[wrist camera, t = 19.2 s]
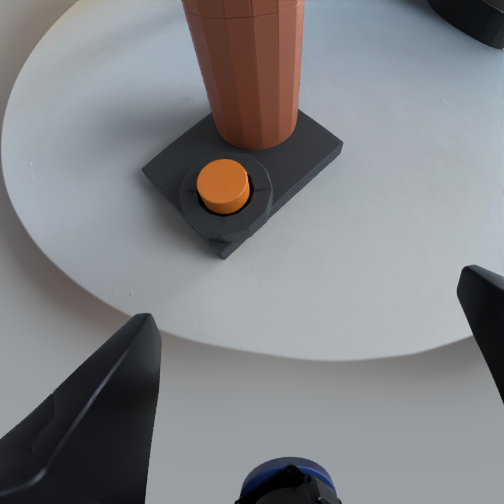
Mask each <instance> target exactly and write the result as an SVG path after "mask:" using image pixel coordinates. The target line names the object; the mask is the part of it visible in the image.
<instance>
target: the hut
mask: <svg viewBox="0 0 504 504" xmlns="http://www.w3.org/2000/svg"><path fill="white" fill-rule="evenodd" d="M427 2H428V3H429V5H430V6H431V7H432V8H433V9H434V10H435V11H436V12H437V13H438V14H439V15H440V16H442V17H443V18H444V19H445V20H447V21H448V22H449V23H451V24H452V25H453V26H455V27H456V28H458V29H460V30H461V31H463V32H464V33H466V34H467V35H469V36H471V37H473V38H475V39H476V40H478V41H480V42H482V43H484V44H486V45H488V46H491V47H494V48H497V49H503V48H504V0H427Z"/></svg>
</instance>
